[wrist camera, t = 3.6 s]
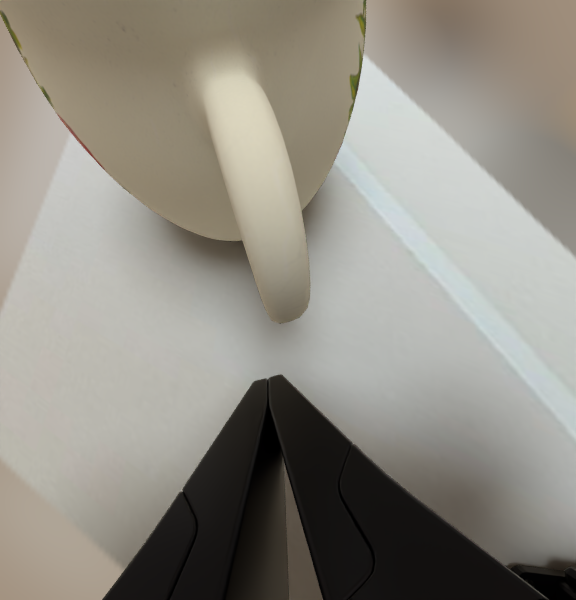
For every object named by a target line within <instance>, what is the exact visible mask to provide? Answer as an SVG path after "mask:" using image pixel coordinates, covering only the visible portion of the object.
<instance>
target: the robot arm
mask: <svg viewBox="0 0 576 600" xmlns="http://www.w3.org/2000/svg"><path fill="white" fill-rule="evenodd" d="M284 463H285V466H286V470H287V473H288V477H289V480H290V484H291V487H292V491H293V495H294V498H295V502H296V505H297V509H298V512H299V516H300V519H301V523H302V526H303V530H304V533H305V537H306V541H307V544H308V548H309V551H310V555H311V558H312V562H313V565H314V569H315V572H316V576H317V580H318V583H319V587H320V590H321V594H322V597H323V600H576V567H568V568H566V569H564V571H560V570H552V569H544V568H536V567H528V566H520V565H519V566H514V567H513V568H512V569H511V570H510V569H508V568H507V567H506V566H505V565H503V564H502V563H501V562H499V561H498V560H497V559H495V558H494V557H493V556H492V555H490V554H489V553H488V552H486V551H485V550H484V549H482V548H481V547H480V546H478V545H477V544H476V543H475V542H473V541H472V540H471V539H469V538H468V537H467V536H465V535H464V534H463V533H462V532H460V531H459V530H458V529H456V528H455V527H454V526H452V525H451V524H450V523H448V522H447V521H446V520H445V519H443V518H442V517H441V516H439V515H438V514H437V513H435V512H434V511H433V510H431V509H430V508H429V507H428V506H426V505H425V504H424V503H422V502H421V501H420V500H418V499H417V498H416V497H415V496H413V495H412V494H411V493H410V492H408V491H407V490H406V489H405V488H403V487H402V486H401V485H400V484H398V483H397V482H396V481H395V480H393V479H392V478H391V477H390V476H388V475H387V474H386V473H385V472H384V471H383V470H382V469H381V468H380V467H378V466H377V465H376V464H375V463H374V462H373V461H372V460H371V459H370V458H368V457H367V456H366V455H365V454H364V453H363V452H362V451H361V450H360V449H359V448H358V447H357V446H356V445H355V444H353V443H352V442H351V441H350V440H349V439H348V438H347V437H346V436H345V435H344V434H343V433H342V432H341V431H340V430H339V429H338V428H337V427H336V426H335V425H334V424H333V423H332V422H331V421H329V420H328V419H327V418H326V417H325V416H324V415H323V414H322V413H321V412H320V411H319V410H318V409H317V408H316V407H315V406H314V405H313V404H312V403H311V402H310V401H309V400H308V399H307V398H306V397H305V396H304V395H303V394H302V393H301V392H299V391H298V390H297V389H296V388H295V387H294V386H293V385H292V384H291V383H290V382H289V381H288V380H287V379H286V378H285V377H284V376H283V375H276V376H273V377H270V378H269V379H266V378H265V379H261V380H257V381H254V382H253V383H252V385H251V386H250V388H249V389H248V391H247V392H246V394H245V395H244V397H243V398H242V400H241V401H240V403H239V404H238V406H237V407H236V409H235V410H234V412H233V413H232V415H231V417H230V418H229V420H228V421H227V423H226V424H225V426H224V427H223V429H222V430H221V432H220V433H219V435H218V436H217V438H216V439H215V441H214V442H213V444H212V445H211V447H210V448H209V450H208V451H207V453H206V454H205V456H204V457H203V459H202V460H201V462H200V463H199V465H198V466H197V468H196V469H195V471H194V472H193V474H192V475H191V477H190V478H189V480H188V481H187V483H186V484H185V486H184V487H183V492H180V493H179V494H178V495H177V497H176V498H175V500H174V501H173V503H172V504H171V506H170V507H169V509H168V510H167V512H166V513H165V515H164V516H163V518H162V519H161V520H160V522H159V523H158V525H157V526H156V528H155V529H154V531H153V532H152V533H151V535H150V536H149V538H148V539H147V541H146V542H145V543H144V545H143V546H142V547H141V549H140V550H139V551H138V553H137V554H136V555H135V557H134V558H133V560H132V561H131V562H130V564H129V565H128V566H127V568H126V569H125V570H124V572H123V573H122V574H121V576H120V577H119V578H118V580H117V581H116V582H115V584H114V585H113V586H112V588H111V589H110V590H109V592H108V593H107V594H106V596H105V597H104V598H103V599H102V600H289V586H288V559H287V532H286V505H285V479H284ZM525 580H527V582H525Z"/></svg>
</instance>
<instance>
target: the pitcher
mask: <svg viewBox="0 0 576 600" xmlns="http://www.w3.org/2000/svg"><path fill="white" fill-rule="evenodd" d="M0 15H1V17H2V19H3V21H4V23H5V25H6V27H7V29H8V31H9V33H10V35H11V37H12V39H13V41H14V43H15V45H16V47H17V49H18V51H19V52H20V54H21V55H22V58H23V60H24V61H25V63H26V65H27V67H28V68H29V70H30V72H31V74H32V76H33V77H34V79H35V81H36V83H37V84H38V86H39V87H40V89H41V90H42V92H43V94H44V95H45V97H46V98H47V100H48V101H49V103H50V104H51V106H52V107H53V109H54V110H55V112H56V113H57V115H58V116H59V118H60V119H61V121H62V122H63V123H64V124H65V126H66V127H67V128H68V129H69V131H70V132H71V133H72V134H73V136H74V137H75V138H76V139H77V141H78V142H79V143H80V144H81V145H82V146H83V147H84V148H85V150H86V151H87V152H88V153H89V154H90V155H91V156H92V157H93V158H94V159H95V160H96V161H97V163H98V164H99V165H100V166H101V167H102V168H103V169H104V170H105V171H106V172H107V173H108V174H109V175H110V176H111V177H112V178H113V179H114V180H115V181H116V182H117V183H119V184H120V185H121V186H122V187H123V188H124V189H125V190H127V191H128V192H129V193H130V194H132V195H133V196H134V197H135V198H137V199H138V200H139V201H140V202H142V203H143V204H144V205H145V206H147V207H148V208H149V209H151V210H152V211H154V212H156V213H157V214H159V215H160V216H162V217H164V218H165V219H167V220H169V221H170V222H172V223H174V224H176V225H178V226H180V227H182V228H184V229H186V230H188V231H191V232H193V233H196V234H198V235H201V236H204V237H208V238H211V239H216V240H223V241H240V240H242V241H243V244H244V247H245V250H246V253H247V257H248V260H249V263H250V266H251V269H252V272H253V275H254V278H255V281H256V284H257V287H258V290H259V293H260V296H261V299H262V302H263V304H264V307H265V309H266V311H267V313H268V315H269V317H270V318H271V320H272V321H274V322H277V323H285V322H289V321H292V320H295V319H297V318H299V317H300V316H301V315H302V314H303V313H304V311H305V310H306V309H307V307H308V303H309V299H310V271H309V258H308V250H307V242H306V234H305V229H304V223H303V217H302V212H301V211H302V210H303V209H304V208H305V207H306V206H307V205H308V203H309V202H310V201H311V200H312V198H313V197H314V195H315V194H316V193H317V191H318V190H319V188H320V187H321V185H322V184H323V182H324V180H325V178H326V177H327V175H328V173H329V171H330V169H331V167H332V165H333V163H334V161H335V159H336V156H337V154H338V152H339V149H340V147H341V145H342V142H343V139H344V136H345V133H346V130H347V127H348V124H349V121H350V117H351V114H352V111H353V107H354V103H355V99H356V95H357V91H358V86H359V80H360V74H361V68H362V61H363V52H364V41H365V29H366V0H0Z"/></svg>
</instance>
